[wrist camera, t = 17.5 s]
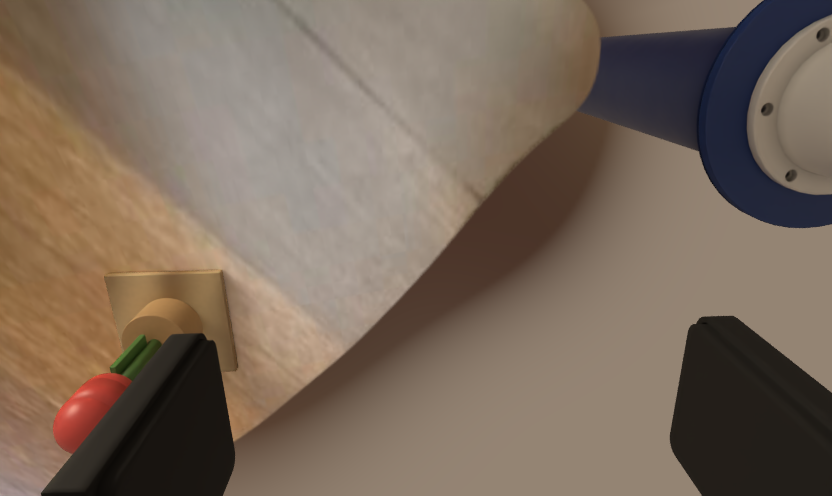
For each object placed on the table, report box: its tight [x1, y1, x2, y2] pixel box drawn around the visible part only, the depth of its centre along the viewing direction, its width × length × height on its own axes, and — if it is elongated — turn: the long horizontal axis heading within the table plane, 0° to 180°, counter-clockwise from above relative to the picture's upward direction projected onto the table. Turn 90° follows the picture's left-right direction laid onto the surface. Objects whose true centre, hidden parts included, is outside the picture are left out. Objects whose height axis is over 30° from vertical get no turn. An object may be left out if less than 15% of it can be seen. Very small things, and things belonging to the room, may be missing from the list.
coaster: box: [104, 270, 238, 372], centre depth 43 cm, size 9×9×1 cm
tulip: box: [53, 298, 203, 454], centre depth 36 cm, size 5×5×14 cm
